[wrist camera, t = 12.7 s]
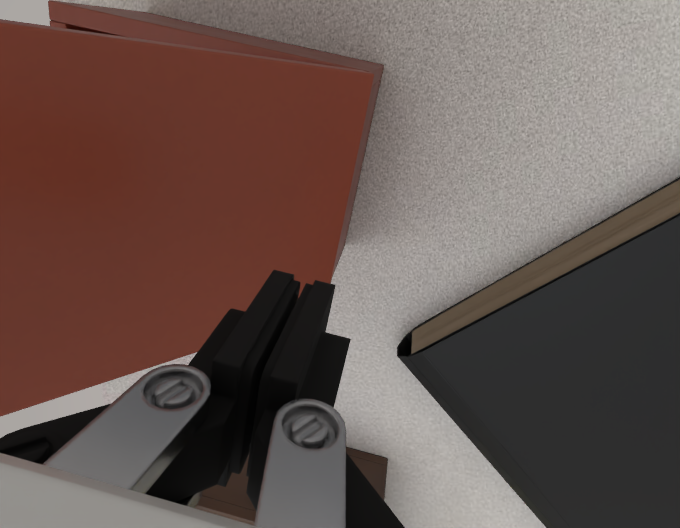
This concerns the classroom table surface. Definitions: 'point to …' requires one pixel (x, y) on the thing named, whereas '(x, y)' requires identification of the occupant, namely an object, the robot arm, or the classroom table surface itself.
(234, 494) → the cabinet
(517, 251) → the classroom table surface
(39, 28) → the chest lid
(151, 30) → the chest
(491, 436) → the black journal
